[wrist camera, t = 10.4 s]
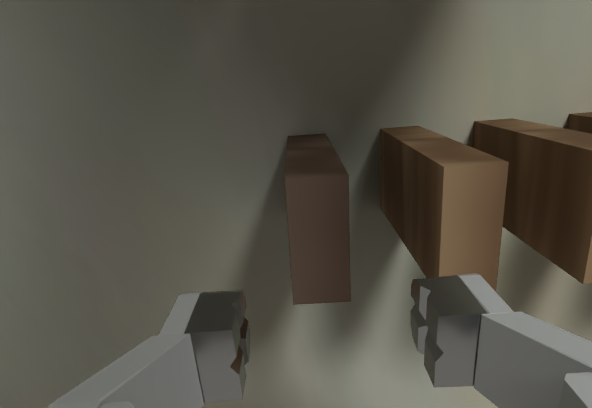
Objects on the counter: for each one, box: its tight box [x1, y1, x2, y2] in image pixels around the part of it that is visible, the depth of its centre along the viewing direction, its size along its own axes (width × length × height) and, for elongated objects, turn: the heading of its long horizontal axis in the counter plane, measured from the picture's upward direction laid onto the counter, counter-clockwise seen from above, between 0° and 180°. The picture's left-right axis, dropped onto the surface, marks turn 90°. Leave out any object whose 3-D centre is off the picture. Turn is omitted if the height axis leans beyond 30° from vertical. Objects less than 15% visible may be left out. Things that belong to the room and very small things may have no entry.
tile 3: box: [473, 119, 592, 284], centre depth 19 cm, size 2×5×10 cm, turn 4°
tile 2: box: [380, 126, 509, 291], centre depth 19 cm, size 2×5×10 cm, turn 4°
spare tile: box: [285, 134, 351, 305], centre depth 19 cm, size 2×5×10 cm, turn 4°
